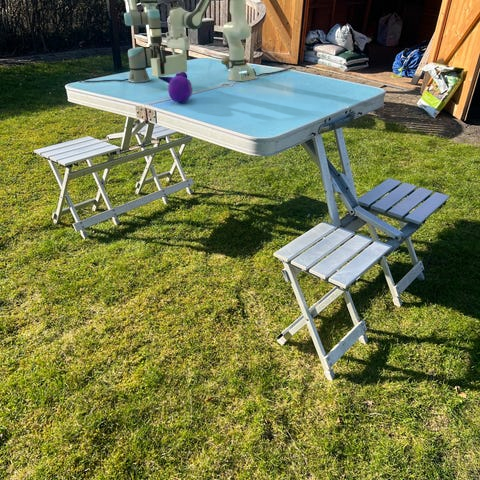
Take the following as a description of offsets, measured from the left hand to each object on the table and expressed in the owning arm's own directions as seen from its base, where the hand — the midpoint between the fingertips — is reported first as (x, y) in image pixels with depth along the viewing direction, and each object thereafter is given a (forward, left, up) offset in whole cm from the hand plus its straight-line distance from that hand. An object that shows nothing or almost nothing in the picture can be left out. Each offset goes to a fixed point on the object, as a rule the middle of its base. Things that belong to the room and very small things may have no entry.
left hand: (159, 73), depth 303 cm
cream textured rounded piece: (+69, +57, -12) cm, 90 cm away
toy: (+6, -32, -12) cm, 34 cm away
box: (+8, +4, -2) cm, 9 cm away
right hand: (+16, +9, +9) cm, 20 cm away
